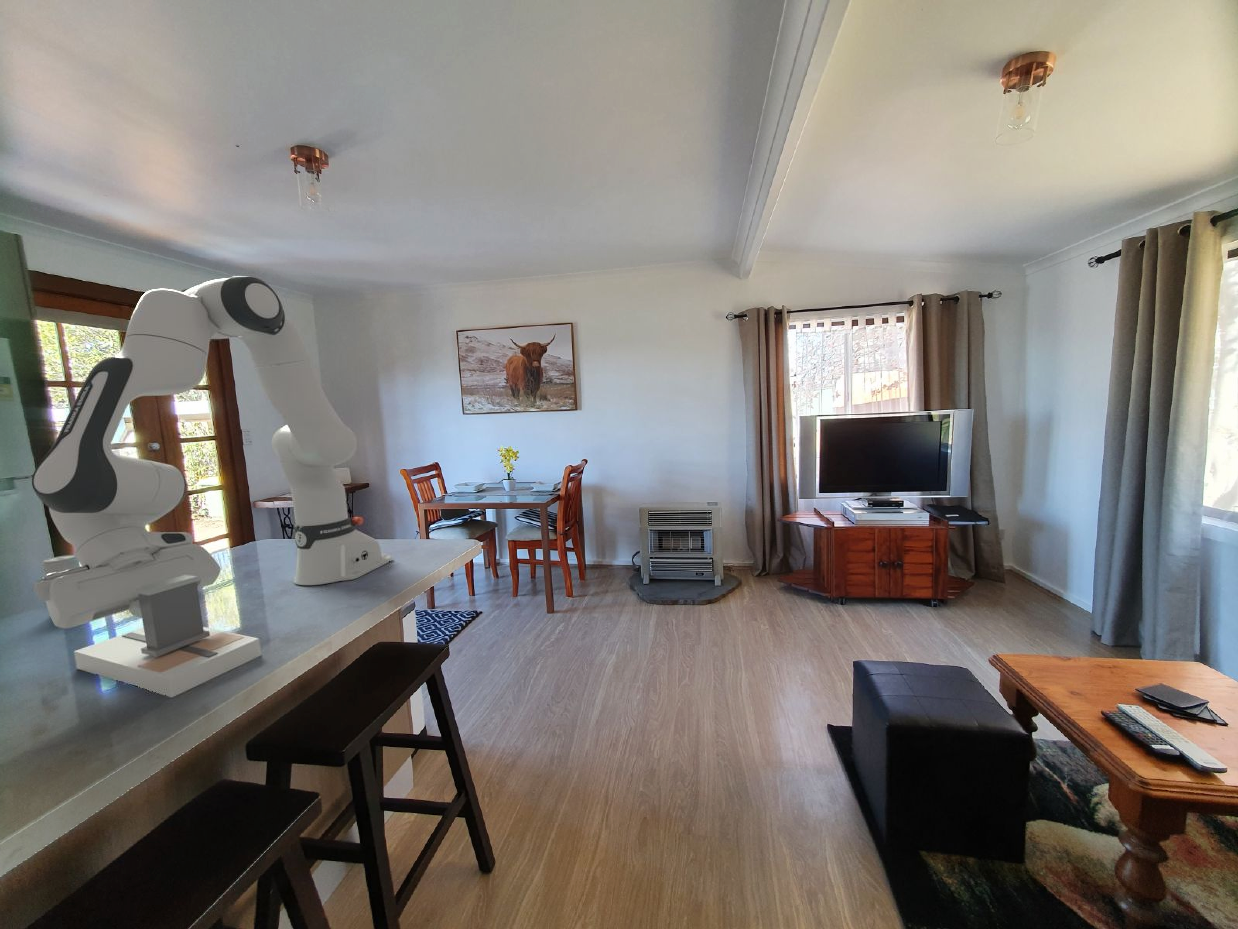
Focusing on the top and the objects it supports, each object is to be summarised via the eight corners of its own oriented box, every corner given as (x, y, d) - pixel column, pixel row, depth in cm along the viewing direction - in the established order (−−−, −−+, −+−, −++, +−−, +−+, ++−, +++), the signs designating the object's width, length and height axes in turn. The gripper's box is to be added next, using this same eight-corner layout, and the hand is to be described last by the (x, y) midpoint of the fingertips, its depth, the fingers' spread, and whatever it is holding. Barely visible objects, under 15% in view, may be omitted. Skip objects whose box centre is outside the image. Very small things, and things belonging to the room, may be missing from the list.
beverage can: (62, 617, 96) (52, 562, 95) (46, 616, 97) (35, 561, 96) (93, 607, 101) (83, 554, 99) (76, 606, 102) (67, 554, 100)
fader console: (77, 668, 75) (73, 650, 75) (169, 634, 86) (166, 618, 86) (171, 697, 66) (168, 676, 66) (261, 655, 77) (258, 637, 77)
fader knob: (141, 653, 72) (131, 589, 71) (195, 632, 79) (186, 573, 77) (156, 657, 71) (146, 591, 70) (209, 635, 77) (201, 575, 76)
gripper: (31, 565, 67) (78, 639, 64) (200, 530, 86) (241, 585, 83) (22, 592, 69) (67, 664, 66) (189, 551, 88) (228, 606, 85)
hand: (165, 620), depth 75 cm, fingers closed, pressing on fader knob
